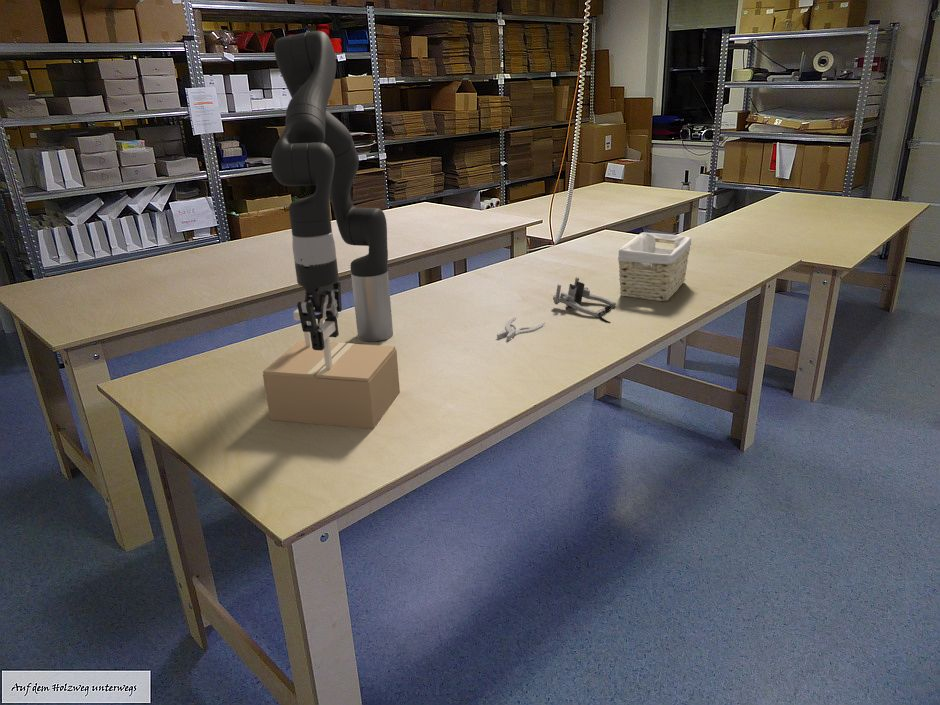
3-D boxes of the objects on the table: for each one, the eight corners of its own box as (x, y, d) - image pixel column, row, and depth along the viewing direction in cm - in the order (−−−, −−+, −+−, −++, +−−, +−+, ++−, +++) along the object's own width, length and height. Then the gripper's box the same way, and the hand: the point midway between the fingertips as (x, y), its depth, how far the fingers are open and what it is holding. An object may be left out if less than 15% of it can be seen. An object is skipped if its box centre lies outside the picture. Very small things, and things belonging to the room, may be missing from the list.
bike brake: (547, 306, 188) (607, 331, 178) (550, 284, 185) (612, 308, 174) (573, 294, 198) (632, 317, 187) (577, 273, 195) (637, 295, 184)
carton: (306, 384, 148) (294, 302, 140) (400, 391, 143) (393, 306, 135) (270, 419, 133) (255, 330, 125) (373, 428, 128) (364, 336, 120)
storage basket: (668, 304, 189) (672, 254, 183) (613, 297, 197) (616, 248, 191) (689, 282, 208) (693, 235, 202) (638, 276, 215) (641, 231, 210)
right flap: (347, 346, 141) (343, 305, 137) (395, 349, 138) (392, 307, 135) (315, 377, 126) (309, 332, 123) (368, 381, 124) (363, 335, 121)
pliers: (545, 319, 177) (519, 338, 165) (545, 325, 177) (519, 344, 166) (513, 314, 182) (485, 332, 170) (513, 319, 182) (485, 337, 171)
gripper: (313, 247, 128) (323, 328, 134) (277, 267, 115) (290, 356, 121) (349, 248, 126) (358, 330, 133) (317, 269, 113) (328, 359, 120)
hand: (325, 342), depth 127 cm, fingers closed on right flap, 6 cm apart
